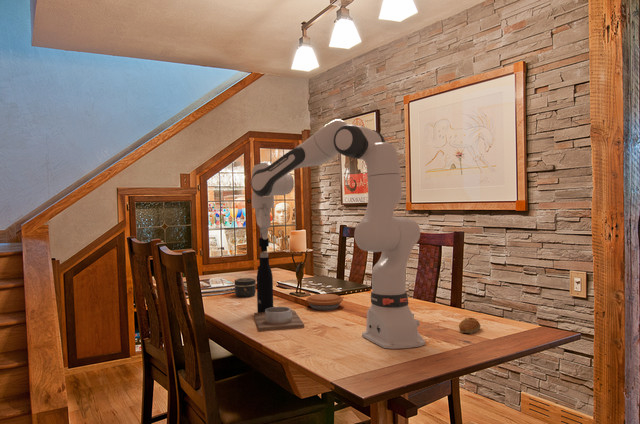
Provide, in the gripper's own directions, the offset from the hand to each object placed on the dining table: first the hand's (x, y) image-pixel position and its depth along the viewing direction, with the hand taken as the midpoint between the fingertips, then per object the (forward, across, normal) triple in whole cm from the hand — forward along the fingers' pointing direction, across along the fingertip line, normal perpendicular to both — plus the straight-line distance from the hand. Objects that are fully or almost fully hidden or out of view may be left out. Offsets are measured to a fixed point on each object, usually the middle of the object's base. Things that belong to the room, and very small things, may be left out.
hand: (263, 238), depth 194 cm
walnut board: (+30, -16, -3) cm, 34 cm away
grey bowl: (+29, -19, -3) cm, 35 cm away
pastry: (+30, -46, -65) cm, 85 cm away
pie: (+30, +2, -25) cm, 39 cm away
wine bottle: (+30, 0, 0) cm, 30 cm away
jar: (+30, +36, +6) cm, 47 cm away
